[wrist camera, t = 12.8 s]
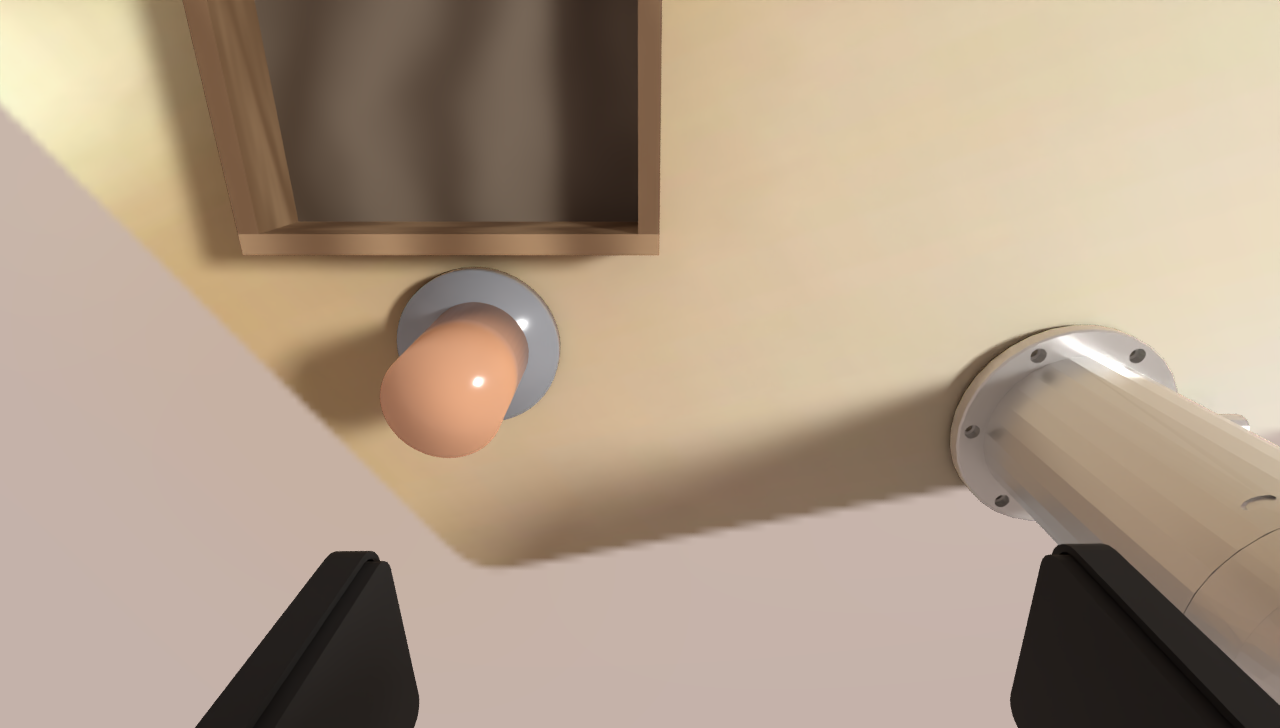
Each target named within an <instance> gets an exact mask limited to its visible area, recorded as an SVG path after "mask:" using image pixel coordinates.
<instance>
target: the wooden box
mask: <svg viewBox="0 0 1280 728" xmlns="http://www.w3.org/2000/svg"><path fill="white" fill-rule="evenodd" d="M183 4H184V8H185V12H186V16H187V21H188V25H189V29H190V33H191V38H192V42H193V46H194V50H195V54H196V59H197V63H198V67H199V71H200V76H201V80H202V84H203V88H204V93H205V97H206V101H207V105H208V109H209V114H210V118H211V122H212V126H213V131H214V135H215V139H216V143H217V148H218V152H219V156H220V160H221V164H222V169H223V173H224V177H225V181H226V186H227V190H228V194H229V198H230V202H231V207H232V211H233V215H234V219H235V224H236V228H237V232H238V236H239V241H240V245H241V249H242V253H243V255H659V218H660V127H661V36H662V0H183Z"/></svg>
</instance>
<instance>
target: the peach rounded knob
mask: <svg viewBox="0 0 1280 728" xmlns="http://www.w3.org/2000/svg"><path fill="white" fill-rule="evenodd" d="M528 358H529V349H528V343H527V339H526V337H525V334H524V332H523V330H522V329H521V327H520V326H519V324H518V323H517V322H516V321H515V320H514V319H513V318H512V317H511V316H510V315H509V314H508V313H506V312H505V311H503V310H501V309H500V308H498V307H495V306H493V305H490V304H486V303H481V302H467V303H462V304H458V305H455V306H453V307H451V308H449V309H448V310H446V311H445V312H443V313H442V314H441V315H440V316H439V317H438V318H437V319H436V320H435V321H434V322H433V323H432V324H431V325H430V326H429V327H428V328H427V329H426V330H425V331H424V332H423V333H422V334H421V335H420V336H419V337H418V338H417V339H416V340H415V341H414V343H413V344H412V345H411V346H410V347H409V348H408V349H407V350H406V351H405V352H404V353H403V354H402V355H401V356H400V357H399V358H398V359H397V360H396V361H395V362H394V363H393V364H392V365H391V366H390V368H389V369H388V370H387V372H386V374H385V376H384V378H383V381H382V384H381V389H380V403H381V408H382V412H383V414H384V417H385V419H386V421H387V423H388V425H389V426H390V428H391V429H392V430H393V432H394V433H395V434H396V435H397V436H398V437H399V438H400V439H401V440H402V441H403V442H405V443H406V444H407V445H409V446H410V447H412V448H414V449H416V450H418V451H420V452H422V453H425V454H428V455H431V456H436V457H443V458H455V457H462V456H466V455H469V454H472V453H474V452H476V451H478V450H480V449H482V448H483V447H485V446H486V445H487V444H488V443H489V442H490V441H491V440H492V439H493V438H494V436H495V435H496V433H497V432H498V430H499V427H500V425H501V423H502V421H503V419H504V416H505V414H506V412H507V410H508V407H509V405H510V403H511V401H512V399H513V396H514V394H515V392H516V390H517V387H518V385H519V383H520V381H521V378H522V376H523V374H524V372H525V370H526V367H527V364H528Z"/></svg>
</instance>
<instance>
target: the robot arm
mask: <svg viewBox="0 0 1280 728" xmlns="http://www.w3.org/2000/svg"><path fill="white" fill-rule="evenodd" d="M950 449H951V455H952V460H953V464H954V466H955V468H956V471H957V473H958V475H959V477H960V479H961V480H962V481H963V482H964V484H965V485H966V486H967V487H968V489H969V490H970V491H971V492H972V493H973V494H974V495H975V496H976V497H977V498H978V499H979V500H980V501H981V502H982V503H983V504H985V505H986V506H988V507H990V508H991V509H992V510H994V511H996V512H999V513H1002V514H1004V515H1007V516H1010V517H1012V518H1018V519H1024V520H1030V521H1036V522H1037V523H1038V524H1039V525H1040V526H1041V527H1042V528H1043V529H1044V530H1045V531H1046V532H1047V533H1048V535H1050V537H1052V539H1053V540H1054V541H1055V542H1056V543H1057V544H1058V546H1057V547H1056V548H1055V549H1054V550H1053V553H1052V555H1046V556H1045V557H1044V558H1043V559H1042V562H1041V565H1040V569H1039V574H1038V578H1037V583H1036V587H1035V591H1034V595H1033V600H1032V605H1031V609H1030V613H1029V617H1028V622H1027V626H1026V630H1025V635H1024V639H1023V643H1022V648H1021V652H1020V656H1019V661H1018V665H1017V669H1016V674H1015V678H1014V683H1013V687H1012V691H1011V697H1010V702H1011V703H1010V704H1011V710H1012V714H1013V717H1014V720H1015V722H1016V725H1017V727H1018V728H1280V447H1279V446H1278V445H1276V444H1274V443H1272V442H1270V441H1268V440H1266V439H1264V438H1262V437H1260V436H1259V435H1257V434H1255V433H1253V432H1251V431H1249V424H1248V421H1247V419H1246V418H1244V417H1243V416H1242V415H1237V414H1217V413H1215V412H1213V411H1211V410H1209V409H1207V408H1205V407H1203V406H1202V405H1200V404H1198V403H1196V402H1194V401H1192V400H1190V399H1188V398H1186V397H1184V396H1182V395H1181V394H1179V393H1178V390H1177V386H1176V383H1175V379H1174V376H1173V373H1172V371H1171V370H1170V368H1169V366H1168V365H1167V363H1166V361H1165V360H1164V358H1163V357H1162V356H1161V355H1159V354H1158V353H1157V352H1156V351H1155V350H1154V349H1153V348H1152V347H1151V346H1150V345H1148V344H1146V343H1144V342H1143V341H1141V340H1139V339H1137V338H1136V337H1133V336H1131V335H1129V334H1126V333H1124V332H1121V331H1119V330H1117V329H1113V328H1108V327H1103V326H1097V325H1072V326H1066V327H1060V328H1054V329H1050V330H1047V331H1044V332H1042V333H1039V334H1036V335H1033V336H1030V337H1028V338H1026V339H1024V340H1022V341H1021V342H1019V343H1017V344H1015V345H1013V346H1011V347H1009V348H1008V349H1007V350H1005V351H1004V352H1003V353H1001V354H1000V355H999V356H997V357H996V358H995V359H993V360H992V361H991V362H990V363H989V364H988V365H987V366H986V367H985V368H984V369H983V370H982V371H981V372H980V373H979V374H978V375H977V376H976V377H975V379H974V380H973V381H972V383H971V384H970V386H969V387H968V388H967V390H966V391H965V393H964V394H963V396H962V399H961V401H960V403H959V405H958V407H957V409H956V411H955V415H954V419H953V423H952V426H951V435H950ZM418 710H419V694H418V690H417V685H416V681H415V677H414V672H413V667H412V663H411V658H410V654H409V649H408V644H407V640H406V635H405V631H404V627H403V622H402V617H401V613H400V609H399V604H398V599H397V595H396V590H395V586H394V581H393V577H392V573H391V568H390V565H389V564H388V563H387V562H385V561H380V560H379V557H378V555H377V554H376V553H375V552H372V551H340V552H338V551H336V552H333V553H331V554H330V555H329V556H328V557H327V558H326V559H325V560H324V562H323V563H322V564H321V565H320V567H319V568H318V569H317V570H316V572H315V573H314V574H313V576H312V577H311V578H310V579H309V581H308V582H307V583H306V585H305V586H304V587H303V588H302V590H301V591H300V592H299V594H298V595H297V596H296V598H295V599H294V600H293V602H292V603H291V604H290V605H289V607H288V608H287V609H286V611H285V612H284V613H283V614H282V616H281V617H280V618H279V620H278V621H277V622H276V623H275V625H274V626H273V627H272V629H271V630H270V631H269V633H268V634H267V635H266V636H265V638H264V639H263V640H262V642H261V643H260V644H259V645H258V647H257V648H256V649H255V651H254V652H253V653H252V655H251V656H250V657H249V658H248V660H247V661H246V662H245V664H244V665H243V666H242V668H241V669H240V670H239V671H238V673H237V674H236V675H235V677H234V678H233V679H232V680H231V682H230V683H229V684H228V686H227V687H226V688H225V690H224V691H223V692H222V693H221V695H220V696H219V697H218V699H217V700H216V701H215V702H214V704H213V705H212V706H211V708H210V709H209V710H208V712H207V713H206V714H205V715H204V717H203V718H202V719H201V721H200V722H199V723H198V724H197V726H196V727H195V728H414V726H415V723H416V720H417V716H418Z"/></svg>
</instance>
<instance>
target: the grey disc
mask: <svg viewBox="0 0 1280 728" xmlns="http://www.w3.org/2000/svg"><path fill="white" fill-rule="evenodd" d="M467 302H481V303H486V304H490V305H493V306H495V307H498V308H500V309H501V310H503V311H505V312H506V313H508V314H509V315H510V316H511V317H512V318H513V319H514V320H515V321H516V322H517V323H518V324H519V326H520V327H521V329H522V330H523V332H524V334H525V337H526V339H527V343H528V349H529V358H528V364H527V367H526V370H525V372H524V374H523V376H522V378H521V381H520V383H519V385H518V387H517V390H516V392H515V394H514V396H513V399H512V401H511V403H510V405H509V407H508V410H507V412H506V414H505V416H504V419H503V420H506V419H509V418H512V417H515V416H517V415H519V414H522V413H524V412H525V411H527V410H528V409H530V408H531V407H533V406H534V405H535V404H536V403H537V402H538V401H539V400H540V399H541V398H542V397H543V396H544V395H545V393H546V392H547V390H548V389H549V387H550V385H551V383H552V381H553V379H554V376H555V373H556V370H557V367H558V364H559V358H560V336H559V331H558V328H557V324H556V322H555V319H554V317H553V315H552V313H551V311H550V309H549V308H548V306H547V305H546V303H545V302H544V301H543V299H542V298H541V297H540V296H539V295H538V294H537V293H536V292H535V291H534V290H533V289H532V288H531V287H529V286H528V285H527V284H526V283H524V282H522V281H521V280H519V279H518V278H516V277H514V276H512V275H510V274H507V273H505V272H502V271H499V270H495V269H490V268H484V267H465V268H459V269H454V270H451V271H448V272H445V273H443V274H441V275H439V276H437V277H435V278H434V279H432V280H431V281H429V282H428V283H427V284H425V285H424V286H423V287H422V288H420V289H419V290H418V291H417V292H416V293H415V294H414V295H413V296H412V298H411V299H410V300H409V302H408V303H407V305H406V307H405V308H404V310H403V312H402V315H401V318H400V320H399V325H398V330H397V349H398V354H399V357H400V356H401V355H402V354H403V353H404V352H405V351H406V350H407V349H408V348H409V347H410V346H411V345H412V344H413V343H414V341H415V340H416V339H417V338H418V337H419V336H420V335H421V334H422V333H423V332H424V331H425V330H426V329H427V328H428V327H429V326H430V325H431V324H432V323H433V322H434V321H435V320H436V319H437V318H438V317H439V316H440V315H441V314H442V313H443V312H445V311H446V310H448V309H449V308H451V307H453V306H455V305H458V304H462V303H467Z"/></svg>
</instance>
